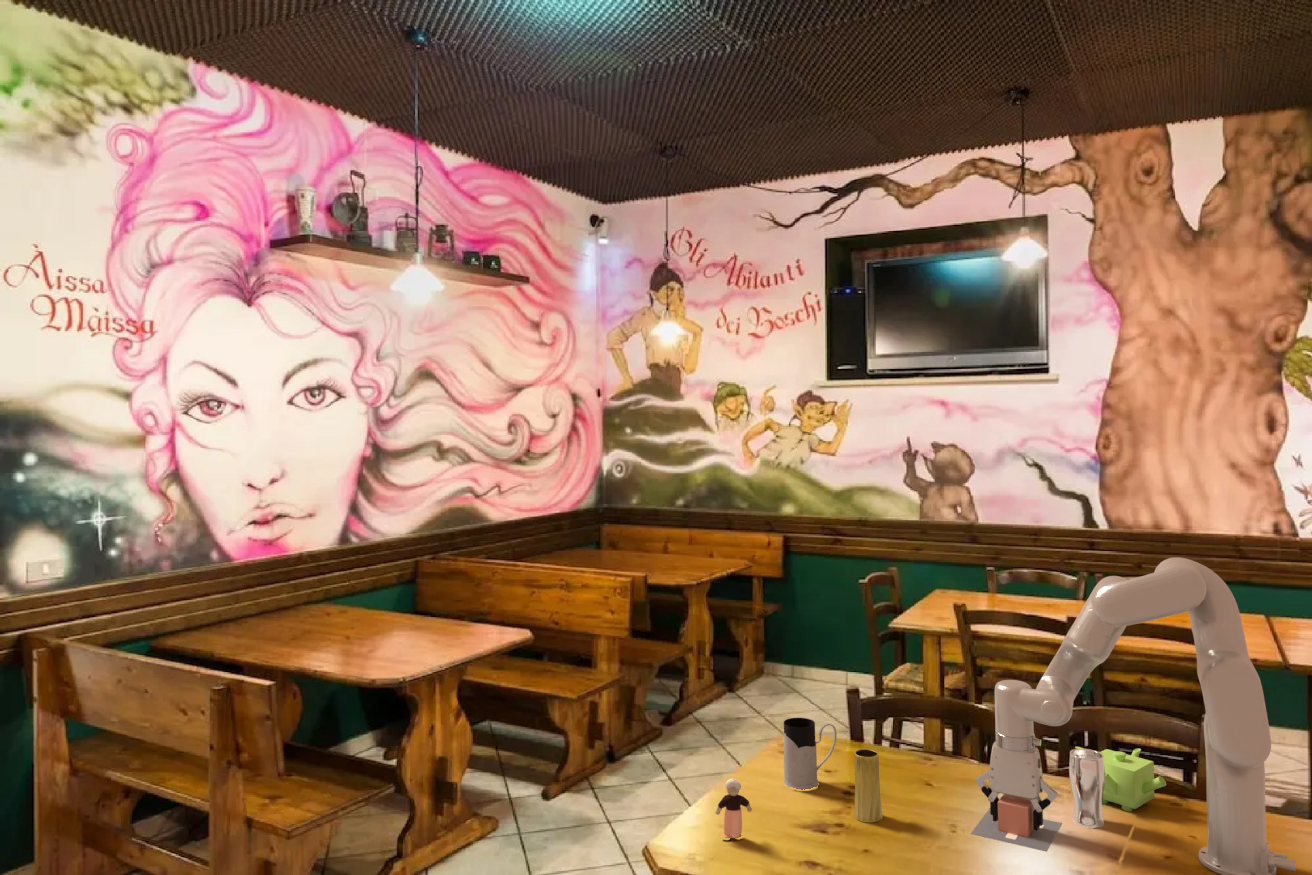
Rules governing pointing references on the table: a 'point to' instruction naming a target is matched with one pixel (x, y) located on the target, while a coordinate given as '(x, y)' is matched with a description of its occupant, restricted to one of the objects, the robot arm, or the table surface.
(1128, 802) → the kettle
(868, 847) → the table surface
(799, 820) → the table surface
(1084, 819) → the beer glass
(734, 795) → the grandmother figurine
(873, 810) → the vase
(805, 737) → the grey and black mug
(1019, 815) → the block
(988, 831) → the board
